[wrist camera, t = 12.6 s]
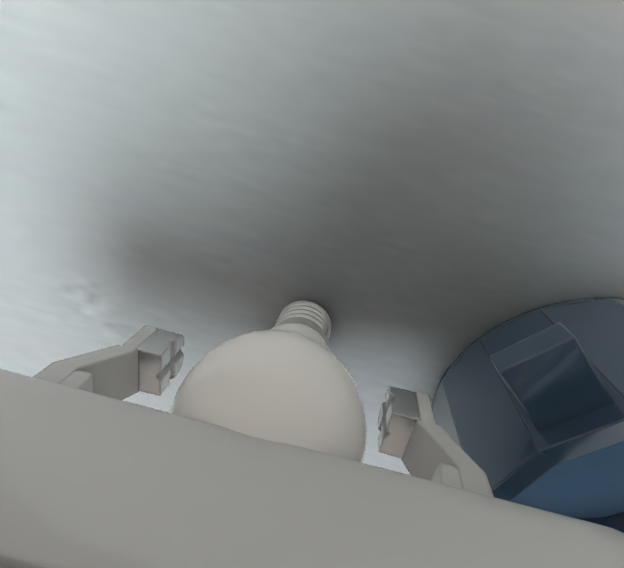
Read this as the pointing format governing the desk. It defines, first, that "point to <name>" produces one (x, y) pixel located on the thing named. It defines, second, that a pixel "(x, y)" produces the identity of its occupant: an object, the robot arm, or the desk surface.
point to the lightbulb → (280, 387)
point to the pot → (545, 409)
